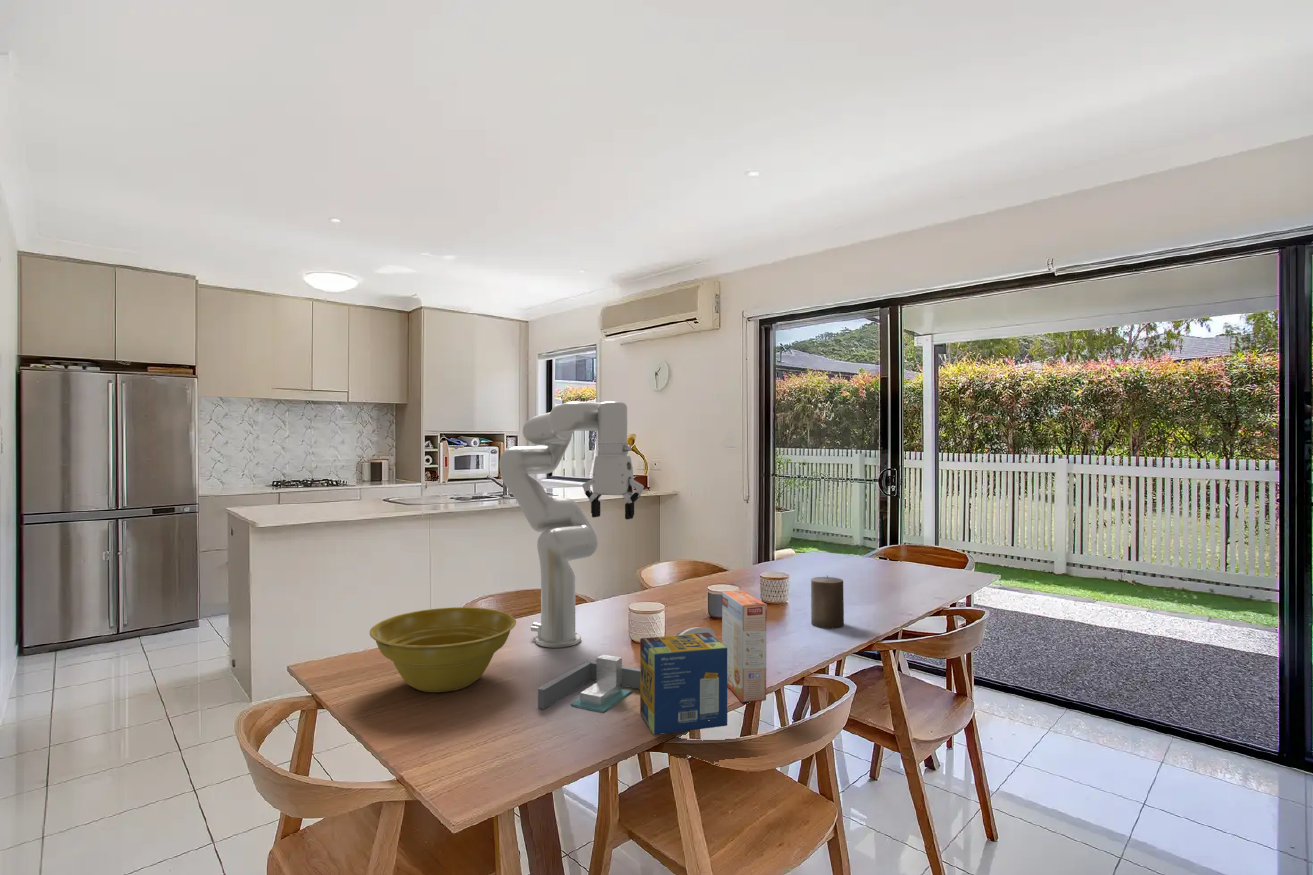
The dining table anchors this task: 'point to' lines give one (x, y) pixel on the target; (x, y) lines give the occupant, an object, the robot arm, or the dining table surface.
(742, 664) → the cracker box
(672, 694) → the protein box
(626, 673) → the corner walls
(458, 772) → the dining table surface
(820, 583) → the pillar candle
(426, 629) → the planter bowl
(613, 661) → the grey l-shaped block
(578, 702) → the mat
